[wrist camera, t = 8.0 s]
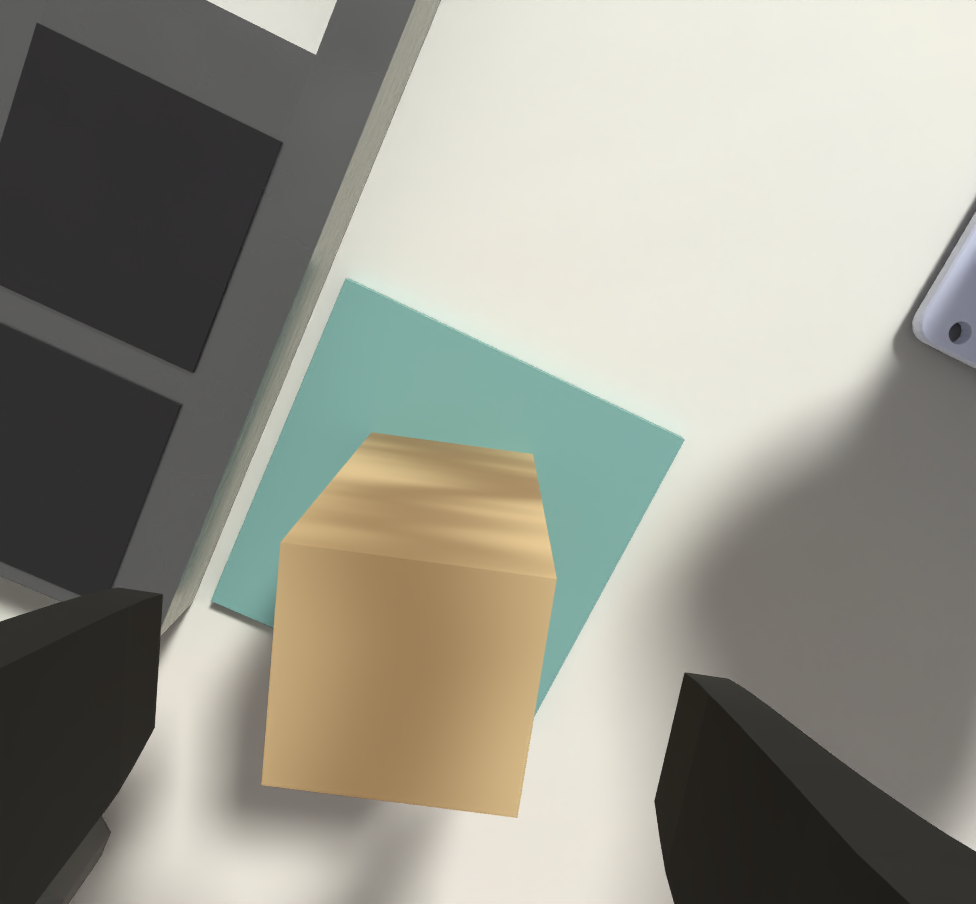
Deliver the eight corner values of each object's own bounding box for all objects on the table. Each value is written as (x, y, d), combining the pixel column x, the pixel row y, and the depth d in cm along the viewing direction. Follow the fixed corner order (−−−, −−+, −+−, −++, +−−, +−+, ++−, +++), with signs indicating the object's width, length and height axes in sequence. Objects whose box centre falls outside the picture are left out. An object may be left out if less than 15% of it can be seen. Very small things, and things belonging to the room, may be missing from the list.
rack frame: (608, -405, 15) (626, -523, 13) (192, 603, 20) (153, 643, 18) (234, -620, 15) (187, -781, 12) (-101, 477, 20) (-178, 503, 17)
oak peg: (533, 454, 19) (556, 579, 11) (510, 603, 20) (516, 817, 12) (371, 432, 19) (280, 542, 11) (355, 583, 20) (261, 785, 12)
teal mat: (681, 436, 19) (684, 439, 19) (523, 727, 21) (523, 735, 21) (348, 278, 18) (345, 278, 18) (216, 594, 20) (210, 601, 20)
